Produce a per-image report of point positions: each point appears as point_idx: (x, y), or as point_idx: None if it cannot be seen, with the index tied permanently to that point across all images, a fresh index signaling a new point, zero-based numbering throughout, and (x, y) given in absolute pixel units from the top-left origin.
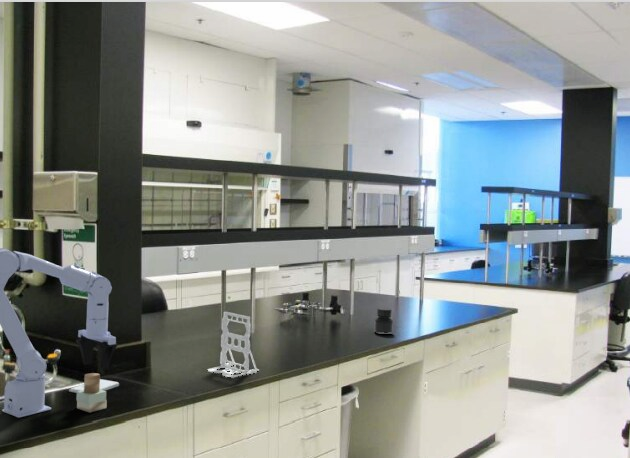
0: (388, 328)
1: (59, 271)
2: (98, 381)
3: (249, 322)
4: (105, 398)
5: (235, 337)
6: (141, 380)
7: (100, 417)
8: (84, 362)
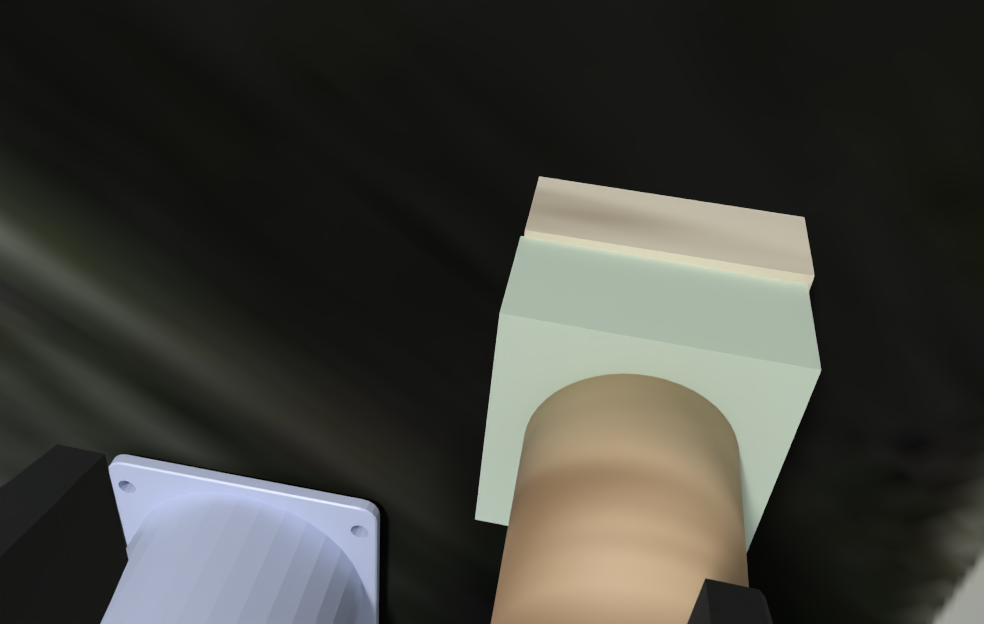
0: None
1: None
2: (747, 583)
3: None
4: (807, 312)
5: None
6: None
7: (959, 467)
8: (105, 606)
